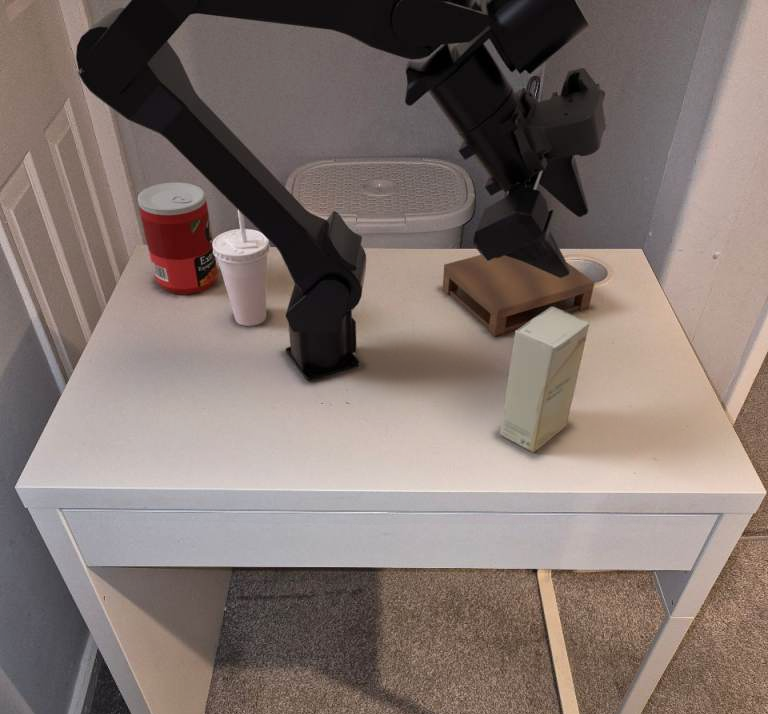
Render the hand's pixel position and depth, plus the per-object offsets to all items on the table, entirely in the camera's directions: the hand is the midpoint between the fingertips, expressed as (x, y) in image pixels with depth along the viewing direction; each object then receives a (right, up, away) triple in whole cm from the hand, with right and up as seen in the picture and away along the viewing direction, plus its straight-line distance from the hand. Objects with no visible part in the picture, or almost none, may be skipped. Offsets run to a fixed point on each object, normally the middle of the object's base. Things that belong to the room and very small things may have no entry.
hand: (575, 244), depth 74 cm
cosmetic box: (-3, -18, +4) cm, 19 cm away
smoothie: (-35, -3, +18) cm, 39 cm away
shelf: (-2, +1, +21) cm, 21 cm away
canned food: (-44, +4, +24) cm, 50 cm away
